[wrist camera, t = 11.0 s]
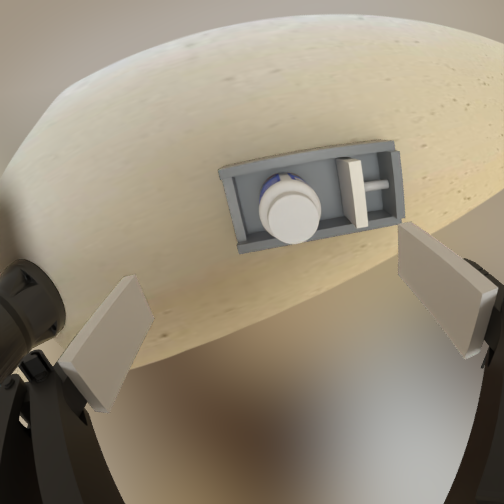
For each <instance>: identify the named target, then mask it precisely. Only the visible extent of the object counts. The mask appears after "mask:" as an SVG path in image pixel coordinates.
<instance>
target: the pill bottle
mask: <svg viewBox="0 0 504 504" xmlns="http://www.w3.org/2000/svg"><path fill="white" fill-rule="evenodd" d="M259 216H260V220H261V222H262V225H263V226H264V228H265V229H266V230H267V232H268V233H270V234H271V235H272V236H274V237H275V238H277V239H279V240H280V241H282V242H284V243H288V244H299V243H302V242H305V241H307V240H308V239H309V238H311V237H312V236H313V235H314V233H315V232H316V230H317V228H318V225H319V220H320V217H321V204H320V200H319V198H318V196H317V194H316V193H315V191H314V190H313V189H312V188H311V187H310V186H309V185H308V184H307V183H306V182H305V181H304V180H303V179H302V178H301V177H299V176H298V175H296V174H293V173H289V172H280V173H276V174H274V175H272V176H270V177H269V178H268V179H267V180H266V181H265V182H264V184H263V185H262V188H261V191H260V198H259Z"/></svg>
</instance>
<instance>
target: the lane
mask: <svg viewBox="0 0 504 504" xmlns="http://www.w3.org/2000/svg"><path fill="white" fill-rule="evenodd" d="M345 156H347V157H350V158H354V159H357V160H361V166H362V173H363V181H364V182H370V181H376V180H383V179H387V180H388V183H389V188H388V189H381V190H375V191H368V192H365V198H366V207H367V218H368V227H363V228H356V227H355V226H354V225H353V224H352V223H351V222H350V221H349V220H348V219H347V217H346V216H345V215H344V212H343V205H342V197H341V190H340V183H339V177H338V170H337V164H336V158H338V157H345ZM280 172H289V173H293V174H296V175H298V176H299V177H301V178H302V179H303V180H304V181H305V182H306V183H307V184H308V185H309V186H310V187H311V188H312V189H313V190H314V191H315V193H316V194H317V196H318V198H319V200H320V204H321V217H320V220H319V225H318V228H317V230H316V232H315V233H314V235H313V236H312V237H311V238H309V239H308V240H307V241H305V242H308V241H313V240H319V239H324V238H329V237H335V236H340V235H345V234H350V233H356V232H361V231H366V230H372V229H377V228H382V227H388V226H393V225H398V224H400V223H402V221H401V218H405V205H404V190H403V178H402V168H401V160H400V152H399V151H396V150H395V145H394V141H391V140H372V141H363V142H355V143H347V144H339V145H332V146H325V147H319V148H312V149H306V150H300V151H295V152H289V153H283V154H278V155H273V156H268V157H263V158H258V159H253V160H249V161H244V162H239V163H235V164H231V165H226V166H223V167H221V168H220V169H219V170H218V173H219V177H220V180H222V182H223V186H224V190H225V194H226V198H227V202H228V206H229V210H230V214H231V218H232V222H233V226H234V230H235V234H236V237H237V241H238V243H237V248H238V252H239V254H244V253H249V252H255V251H260V250H265V249H271V248H276V247H281V246H287V245H292V244H288V243H284V242H282V241H280V240H279V239H277V238H275V237H274V236H272V235H271V234H270V233H268V232H267V230H266V229H265V228H264V226H263V225H262V222H261V220H260V216H259V198H260V191H261V188H262V185H263V184H264V182H265V181H266V180H267V179H268V178H269V177H270V176H272V175H274V174H276V173H280ZM302 243H303V242H302Z"/></svg>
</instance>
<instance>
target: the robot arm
mask: <svg viewBox="0 0 504 504" xmlns="http://www.w3.org/2000/svg"><path fill="white" fill-rule="evenodd" d="M398 275H399V276H400V277H401V278H402V279H403V281H404V282H405V283H406V284H407V286H408V287H409V288H410V289H411V290H412V292H413V293H414V294H415V295H416V296H417V297H418V299H419V300H420V301H421V303H422V304H423V305H424V306H425V308H426V309H427V310H428V311H429V313H430V314H431V315H432V316H433V318H434V319H435V320H436V321H437V323H438V324H439V325H440V327H441V328H442V329H443V331H444V332H445V333H446V335H447V336H448V337H449V339H450V340H451V341H452V343H453V344H454V346H455V347H456V348H457V350H458V351H459V353H460V354H461V355H462V357H463V358H464V359H467V358H469V357H471V356H473V355H476V354H478V353H479V352H480V350H481V347H482V344H483V341H484V340H485V341H486V343H487V344H488V345H489V348H488V350H487V354H486V356H485V358H484V361H483V364H482V366H481V368H484V365H485V368H484V375H483V381H482V386H481V392H480V397H479V402H478V406H477V411H476V414H475V419H474V423H473V426H472V430H471V433H470V437H469V440H468V443H467V446H466V449H465V452H464V456H463V458H462V461H461V464H460V466H459V469H458V472H457V474H456V477H455V479H454V482H453V484H452V487H451V489H450V491H449V493H448V495H447V498H446V500H445V502H444V504H504V285H503V284H501V283H500V282H499V281H498V280H497V279H495V278H494V277H493V276H492V275H490V274H489V273H488V272H487V271H486V270H483V268H482V267H480V266H479V265H478V264H476V263H475V262H473V261H471V260H468V259H465V258H464V259H463V258H461V257H460V256H458V255H457V254H456V253H454V252H453V251H452V250H451V249H449V248H448V247H446V246H445V245H444V244H443V243H441V242H440V241H438V240H437V239H435V238H434V237H433V236H431V235H430V234H429V233H427V232H426V231H424V230H423V229H421V228H420V227H418V226H417V225H415V224H414V223H412V222H406V223H400V224H398ZM154 319H155V318H154V316H153V314H152V311H151V309H150V307H149V305H148V302H147V300H146V298H145V295H144V293H143V291H142V288H141V286H140V283H139V281H138V278H137V276H136V274H135V275H129V276H124V277H123V278H122V279H121V280H120V282H119V283H118V284H117V285H116V286H115V288H114V289H113V290H112V291H111V292H110V294H109V295H108V296H107V297H106V299H105V300H104V301H103V302H102V303H101V305H100V306H99V307H98V308H97V310H96V311H95V312H94V313H93V315H92V316H91V317H90V319H89V320H88V321H87V322H86V324H85V325H84V326H83V328H82V329H81V330H80V331H79V333H78V334H77V335H76V336H75V337H74V339H73V340H72V341H71V343H70V344H69V345H68V347H67V349H66V350H65V351H64V352H63V354H62V355H61V356H60V358H59V359H58V361H57V362H56V363H55V365H54V366H52V365H51V364H50V362H49V361H48V359H47V358H46V356H45V355H44V353H43V352H42V350H34V351H31V352H30V350H31V349H32V348H34V347H36V346H38V345H40V344H42V343H44V342H46V341H48V340H50V339H52V338H54V337H55V336H56V335H57V334H58V333H59V332H60V330H61V329H62V328H63V326H64V324H65V310H64V306H63V303H62V300H61V298H60V295H59V293H58V291H57V290H56V288H55V286H54V285H53V283H52V282H51V280H50V279H49V278H48V276H47V275H46V274H45V273H44V272H43V271H42V270H41V269H40V268H39V267H37V266H36V265H35V264H33V263H31V262H29V261H27V260H17V261H15V262H13V263H12V264H11V265H9V266H8V267H7V268H6V269H5V270H4V272H3V273H2V275H1V277H0V504H125V503H124V501H123V499H122V497H121V495H120V493H119V491H118V489H117V486H116V484H115V482H114V480H113V478H112V475H111V473H110V471H109V468H108V466H107V464H106V461H105V459H104V456H103V454H102V451H101V448H100V446H99V443H98V440H97V438H96V435H95V431H94V429H93V426H92V422H91V419H90V416H89V413H88V412H87V410H86V409H85V408H84V407H85V405H86V403H87V402H88V403H89V404H90V406H91V407H92V408H93V409H94V411H96V412H103V413H110V410H111V408H112V406H113V404H114V402H115V399H116V397H117V395H118V393H119V390H120V388H121V386H122V384H123V381H124V380H125V378H126V375H127V373H128V371H129V369H130V367H131V365H132V363H133V361H134V359H135V357H136V355H137V353H138V351H139V349H140V347H141V344H142V342H143V340H144V338H145V336H146V334H147V332H148V331H149V329H150V327H151V325H152V323H153V321H154ZM17 367H19V368H20V370H21V371H22V372H23V374H24V375H25V376H26V378H27V379H28V380H29V382H25V383H24V381H23V380H22V379H21V377H20V376H19V375H18V374H12V373H13V372H14V370H15V369H16V368H17ZM11 374H12V375H11ZM19 416H21V417H22V418H23V419H24V420H25V421H26V422H27V423H28V427H27V428H26V427H24V426H23V425H22V424H21V422H20V421H19Z"/></svg>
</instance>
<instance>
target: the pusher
mask: <svg viewBox="0 0 504 504" xmlns="http://www.w3.org/2000/svg"><path fill="white" fill-rule="evenodd" d="M336 164H337V170H338V177H339V183H340V190H341V197H342V205H343V212H344V215H345V216H346V217H347V219H348V220H349V221H350V222H351V223H352V224H353V225H354V226H355V227H356V228H363V227H368V218H367V207H366V198H365V192H368V191H375V190H381V189H388V188H389V183H388V180H387V179H383V180H376V181H370V182H364V181H363V173H362V166H361V160H357V159H354V158H350V157H347V156H345V157H338V158H336Z"/></svg>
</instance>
